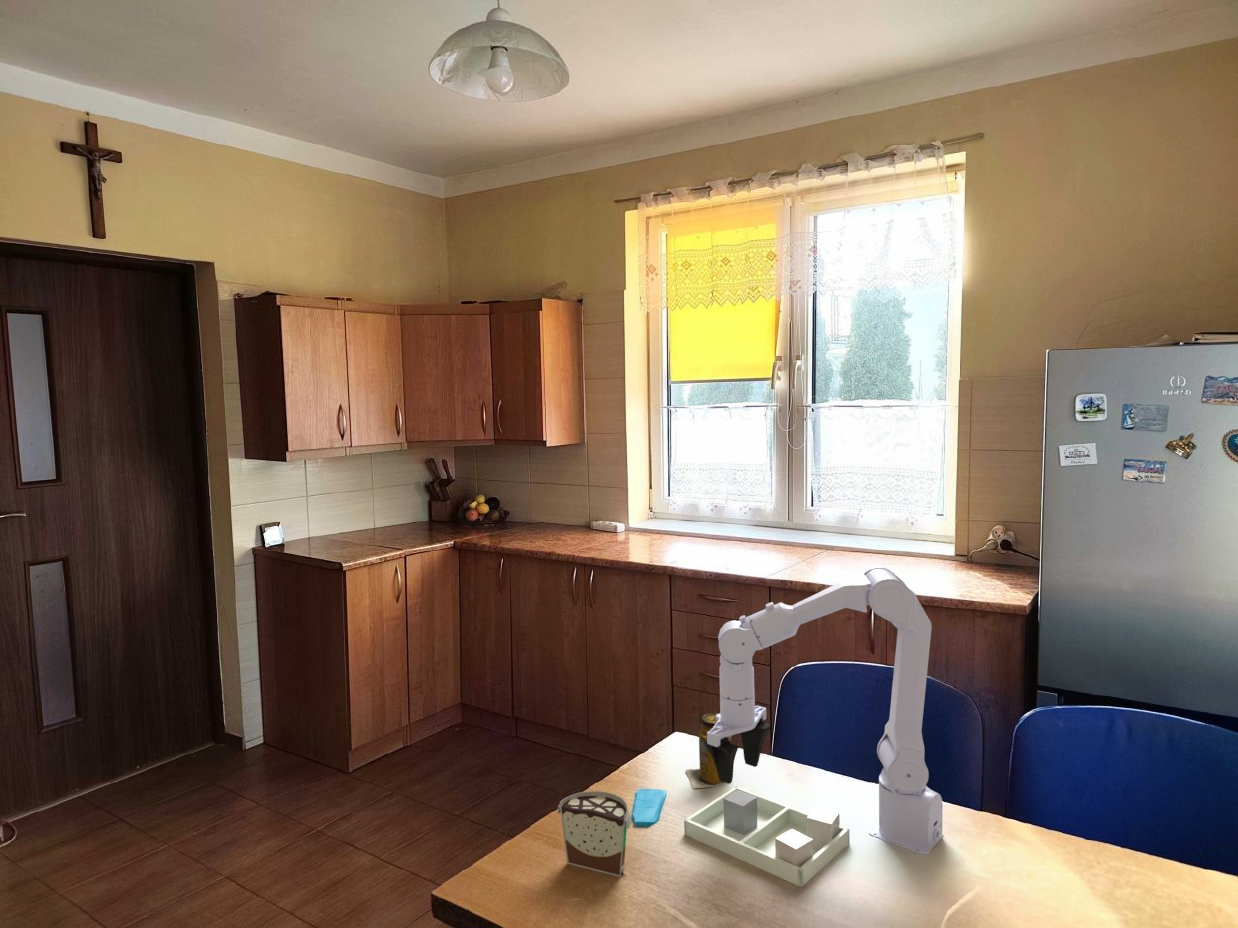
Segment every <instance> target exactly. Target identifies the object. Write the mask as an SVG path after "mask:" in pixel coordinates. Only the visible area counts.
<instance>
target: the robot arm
mask: <svg viewBox="0 0 1238 928" xmlns="http://www.w3.org/2000/svg"><path fill="white" fill-rule="evenodd" d="M867 606H869V607H870V608H871V610H872V611H873V612H874V613H875V614H876V615H877V616H879V617H881V618H882V619H885V620H887V621H889V622H890V623H891V624H892V625H893V626H894V627H895V628H896V629H897V633H896V635H897V636H896V643H895V645H896V646H895V655H894V667H893V676H892V677H893V678H892V686H891V688H892V689H891V697H890V698H891V699H890V706H889V707H890V708H889V709H890V710H889V718H888V721H887V723H886V724H885V725H884V731H883V732H884V733H883V735H882V737H881V738H880V740H879V741H878V744H877V746H876V747H877V748H876V754H877V757H878V759H879V760H880V762H881V764H882V766H883V767H882V769H881V772H880V774H879V776H878V824H877V825H876V826H875V827H873V829H872V830H871V831H870V832H868V835H869V836H871V837H874V838H876V839H878V840H882V841H885V842H888V843H890V844H893V845H896V846H898V847H901V848H903V849H906V850H909V851H912V852H914V853H917V854H919V855H923V856H926V855H928V854H929V852H930V851H931V850H932V849H933V848H934V847H935V846H936V845H937V844H938V843H939V842H940V841H941V839H943V837H944V836H945V834H944V833H943V798H942V796H941V794H940V793H938V792H937V791H934V790H932V789H931V788H929V787H928V786H927V784H928V781H929V776H930V775H929V769H928V766H927V765H926V762H925V745H924V740H923V739H924V738H923V733H922V727H923V720H924V719H923V717H924V707H925V697H926V688H927V678H928V669H929V660H930V659H929V658H930V646H931V638H932V628H933V627H932V621H931V620H930V618H929V617H928V614H927V613H926V611H925V610H924V607H923V606H922V604H921V602H920V601H919V599H918V597H917V594H916V593H915V592H914V591H912V589H910V588H909V587H908V585H906V583H905V582H904V581H903V580H902V579H901V578H900V577H899V576H897V575H896V574H895V573H894V572H893V571H892V570H890V569H888V568H886V567H882V566H877V567H872V568H869V569H867V570H865V572H857V573H855V574H852V575H850V576H849V577H847V578H845V579H843V580H841V581H839V582H837V583H835V584H833V585H831V586H829V587H827V588H824V589H823V590H820V591H819V592H817V593H815V594H813V595H811V596H809V597H807V598H804V599H802V600H800V601H797V602H796V603H794V604H793V605H789V604H785V603H783V602H778V603H776V604H774V602H772V601H771V602H768V603H766V604H765V608H764V609H763V610H760V611H758V612H755V613H753V614H751V615H748V616H746V615H745V614H744V615H741V616H740V617H739V620H735V619H734V620H730V621H727V622H725V623H724V624H723V625H722V627H721V628H720V629H719V633H718V635H717V639H718V649H719V652H720V656H719V663H720V665H719V709H720V710H719V711H720V712H719V713H718V715H716V720H718V721H717V723H716V724H715V725H714V727H713V728H712V729H711V730H710V731H709V732H707V738H705V746H706V747H707V749H708V750H709V752H710V754H711V756H712V758H713V760H714V763H715V766H716V769H717V773H718V777H719V780H720V781H722V782H721V783H725V784H728V785H729V784H731V783H732V782H733V777H734V764H735V759H736V755H737V753H738V749H739V745H736V744H733V743H730V741H729V740H728V738H729V737H730V736H731V737H732V736H734V735H737V734H740V737H741V743H742V751H743V759H744V763H745V765H749V766H751V767H754V768H756V767H758V765H759V761H760V755H761V753H762V749H763V745H764V742H765V739H766V738H767V735H768V733H770V730H771V725H770V723H767V722H764V721H765V720H766V719H767V708H766V707H763V706H760V705H756V703H755V700H756V699H755V667H754V666H753V656H754V654H755V653H756V651H761V650H764V649H765V648H768V647H771V646H773V645H776V644H778V643H780V642H783V641H785V640H786V639H790V638H792V637H794V636H795V635H796V634H797V632H798V630H799V628H800V626H801V625H803V624H806V623H809V622H811V621H813V620H817V619H819V618H822V617H825V616H828V615H829V614H833V613H835V612H837V611H840V610H843V609H850V610H853V611H858V612H862V613H868V610H867Z"/></svg>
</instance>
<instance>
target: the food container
mask: <svg viewBox="0 0 1238 928" xmlns="http://www.w3.org/2000/svg"><path fill="white" fill-rule="evenodd" d="M559 814H560V816H561V817H560V818H561V826H562V832H563V840H564V841H563V842H564V848H565V849H564V850H565V855H566V864H567V865H570V864H571V866H574V865H575V867H579V868H584V869H586V870H590V871H595V872H599V873H603V874H607V875H611V876H615V877H618V878H622V876H623V874H624V870H625V858H626V857H625V856H626V844H627V831H628V830H629V829H630V827H631V824H632V821H633V819H632V814H631V812H630V808H629V806H628V804H627V802H626V801H625V800H624V799H623V798H622V797H621V796H618V795H617V794H615V793H611V792H608V791H602V790H601V791H599V790H591V791H588V790H587V791H582V792H577V793H574V794H571V795H569V796H567V797H565V798H562V800H560V801H559V805H558V806H557V815H559Z"/></svg>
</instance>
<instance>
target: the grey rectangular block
mask: <svg viewBox="0 0 1238 928" xmlns="http://www.w3.org/2000/svg"><path fill="white" fill-rule="evenodd" d="M756 826H757V797H755V796H752V795H750V794H747V793H745V792H742V791H739V790H736V791H735V792H733V793H732V794H730V795H728V796H727V797H725V798H724V827H725V828H727V829H730V830H732V831H734V832H737V833H739V834H741V835H745V834H747V833H748V832H749V831H751V830H752V829H754V828H755V827H756Z"/></svg>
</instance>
